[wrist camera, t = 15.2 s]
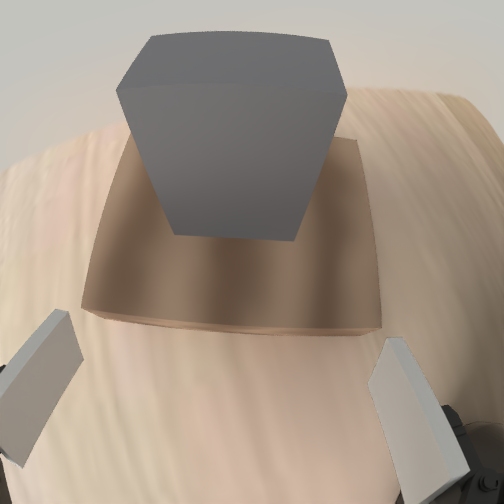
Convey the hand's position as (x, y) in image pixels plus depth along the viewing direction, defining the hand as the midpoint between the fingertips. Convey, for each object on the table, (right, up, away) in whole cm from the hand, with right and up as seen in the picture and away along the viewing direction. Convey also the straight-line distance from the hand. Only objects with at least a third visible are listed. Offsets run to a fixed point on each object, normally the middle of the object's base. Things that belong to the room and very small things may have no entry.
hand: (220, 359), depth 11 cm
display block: (0, +6, +13) cm, 14 cm away
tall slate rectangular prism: (0, +7, +10) cm, 12 cm away
